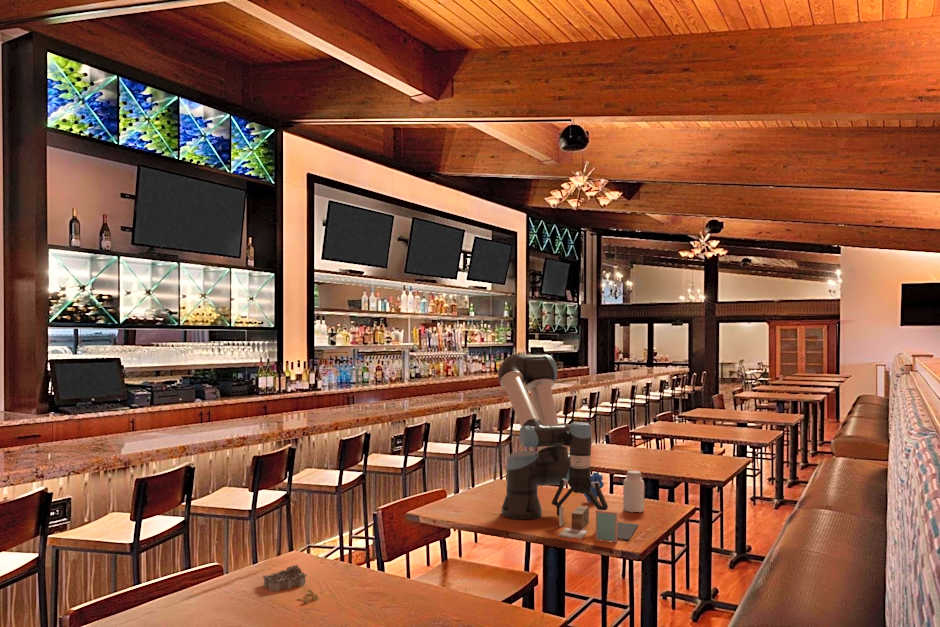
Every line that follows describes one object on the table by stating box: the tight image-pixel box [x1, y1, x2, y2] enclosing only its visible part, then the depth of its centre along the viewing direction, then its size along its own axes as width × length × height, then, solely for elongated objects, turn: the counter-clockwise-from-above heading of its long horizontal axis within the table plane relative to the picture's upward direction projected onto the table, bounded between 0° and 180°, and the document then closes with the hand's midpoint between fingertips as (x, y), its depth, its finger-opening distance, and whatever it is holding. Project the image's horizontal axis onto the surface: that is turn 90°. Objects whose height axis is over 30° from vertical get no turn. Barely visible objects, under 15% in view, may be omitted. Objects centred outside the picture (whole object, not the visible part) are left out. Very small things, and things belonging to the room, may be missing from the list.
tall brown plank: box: [558, 505, 590, 540], centre depth 262 cm, size 22×8×6 cm, turn 159°
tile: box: [595, 509, 619, 543], centre depth 249 cm, size 7×2×10 cm, turn 69°
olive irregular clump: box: [296, 589, 319, 605], centre depth 194 cm, size 5×5×2 cm
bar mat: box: [617, 521, 639, 541], centre depth 260 cm, size 10×20×1 cm, turn 159°
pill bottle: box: [622, 470, 645, 513], centre depth 290 cm, size 8×8×15 cm
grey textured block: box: [262, 564, 307, 592], centre depth 204 cm, size 11×8×4 cm
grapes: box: [583, 471, 605, 503], centre depth 304 cm, size 12×7×12 cm, turn 134°
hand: (579, 527), depth 265 cm, fingers open, 12 cm apart
